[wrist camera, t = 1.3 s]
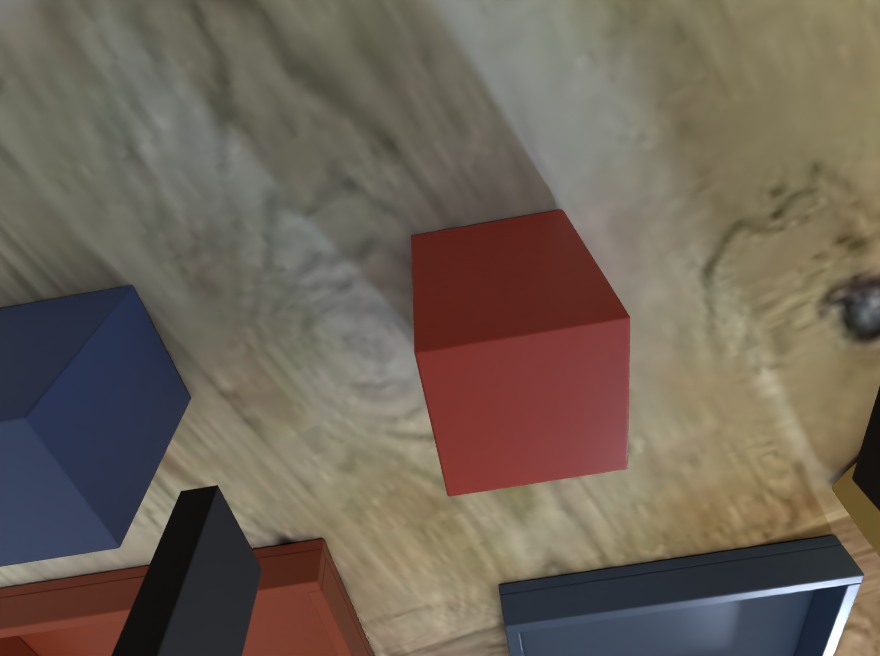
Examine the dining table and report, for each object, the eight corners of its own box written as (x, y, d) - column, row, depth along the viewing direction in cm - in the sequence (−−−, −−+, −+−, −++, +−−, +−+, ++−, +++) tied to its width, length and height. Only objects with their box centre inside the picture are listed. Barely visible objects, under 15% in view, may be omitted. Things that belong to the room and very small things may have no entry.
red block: (410, 235, 17) (413, 353, 12) (562, 208, 17) (630, 316, 12) (436, 357, 20) (448, 497, 14) (569, 335, 19) (628, 469, 14)
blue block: (-10, 309, 18) (-175, 451, 13) (132, 284, 17) (23, 418, 12) (66, 419, 20) (-47, 574, 15) (191, 398, 20) (120, 548, 15)
